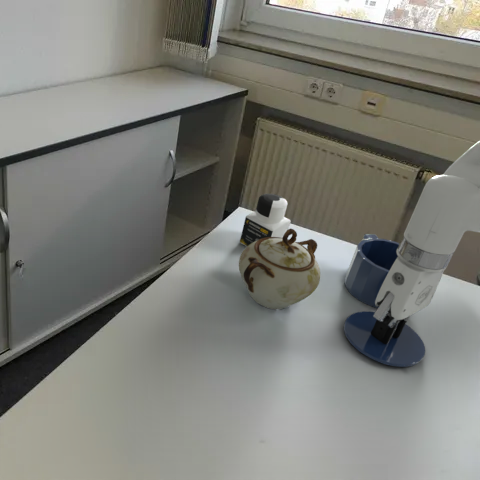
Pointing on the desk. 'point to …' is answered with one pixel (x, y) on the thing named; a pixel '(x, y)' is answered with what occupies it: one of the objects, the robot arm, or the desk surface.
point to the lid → (394, 353)
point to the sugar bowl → (280, 270)
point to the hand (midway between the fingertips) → (384, 335)
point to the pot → (370, 267)
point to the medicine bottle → (266, 220)
